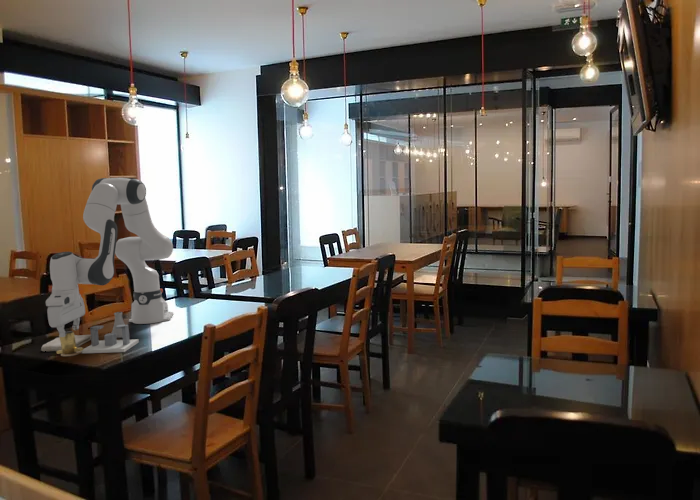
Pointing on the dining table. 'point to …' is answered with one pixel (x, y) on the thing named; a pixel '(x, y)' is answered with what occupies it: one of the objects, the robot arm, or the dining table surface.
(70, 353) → the cork coaster
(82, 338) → the washcloth
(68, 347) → the bayonet cap
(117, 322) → the flask
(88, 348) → the white peg board
